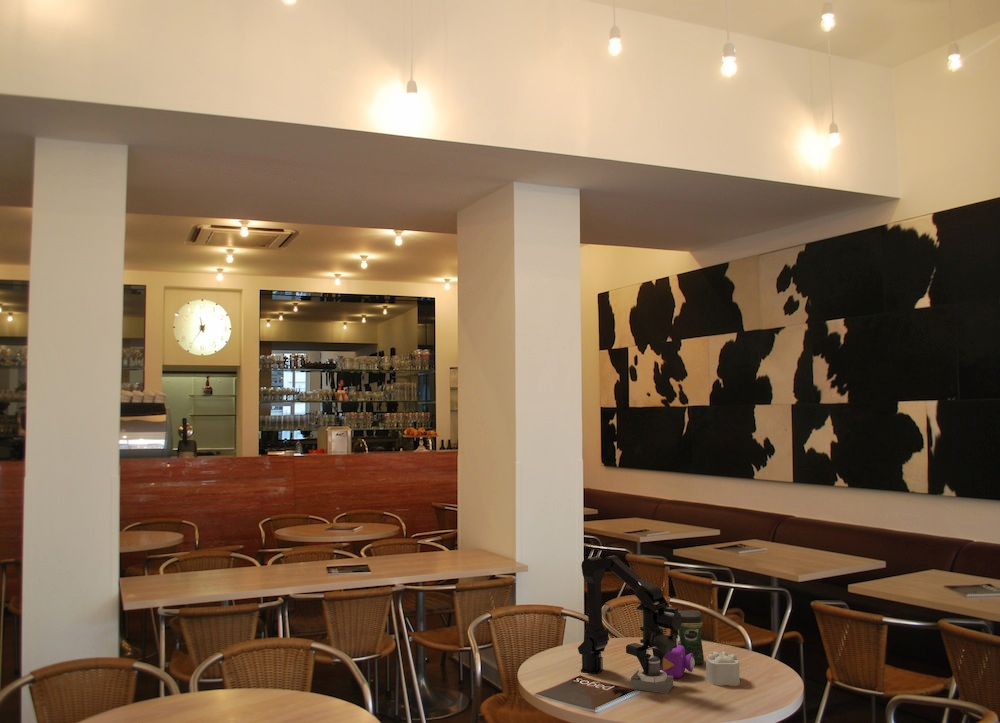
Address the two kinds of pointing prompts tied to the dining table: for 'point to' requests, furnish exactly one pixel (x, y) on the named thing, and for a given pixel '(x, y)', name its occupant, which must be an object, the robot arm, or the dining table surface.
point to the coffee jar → (691, 634)
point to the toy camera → (677, 662)
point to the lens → (653, 666)
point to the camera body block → (652, 682)
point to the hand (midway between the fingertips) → (652, 672)
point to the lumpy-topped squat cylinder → (722, 669)
